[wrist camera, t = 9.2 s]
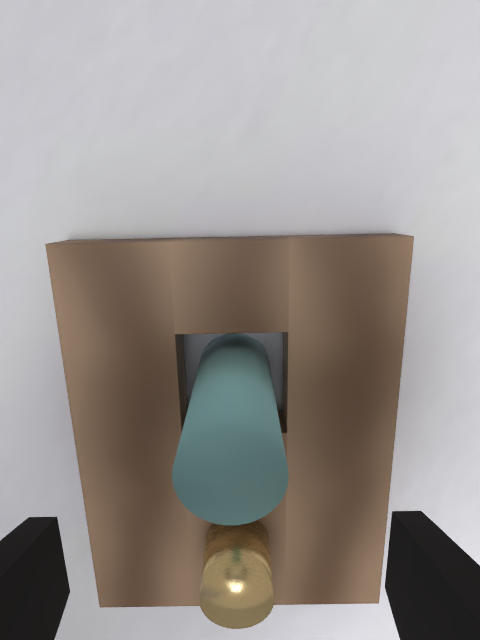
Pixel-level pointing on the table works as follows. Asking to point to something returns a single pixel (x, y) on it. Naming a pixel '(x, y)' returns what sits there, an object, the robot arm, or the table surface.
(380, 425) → the pin board
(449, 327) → the table surface
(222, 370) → the teal pin
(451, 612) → the robot arm
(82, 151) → the table surface
